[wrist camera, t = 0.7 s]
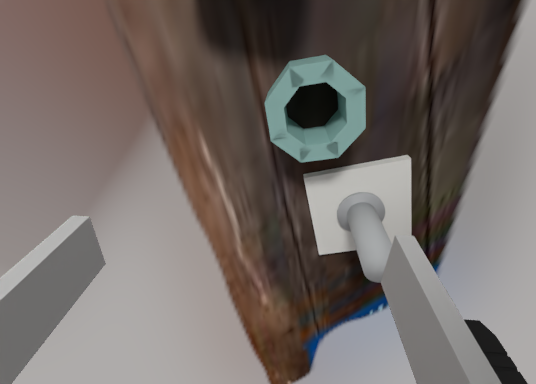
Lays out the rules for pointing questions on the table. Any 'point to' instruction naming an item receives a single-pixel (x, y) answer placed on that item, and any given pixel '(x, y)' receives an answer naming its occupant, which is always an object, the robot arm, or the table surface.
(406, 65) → the table surface
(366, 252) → the plate with round peg
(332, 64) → the ring
